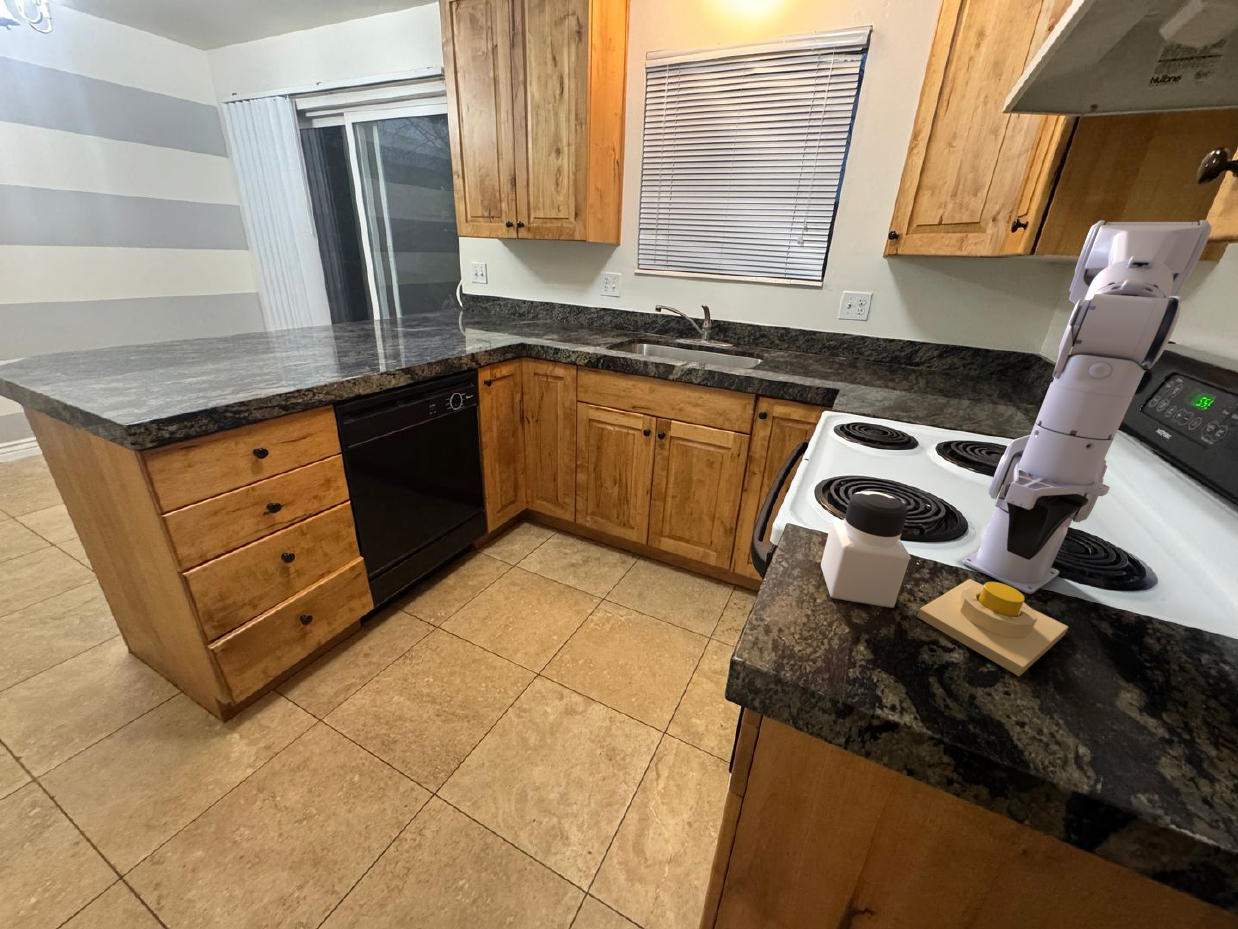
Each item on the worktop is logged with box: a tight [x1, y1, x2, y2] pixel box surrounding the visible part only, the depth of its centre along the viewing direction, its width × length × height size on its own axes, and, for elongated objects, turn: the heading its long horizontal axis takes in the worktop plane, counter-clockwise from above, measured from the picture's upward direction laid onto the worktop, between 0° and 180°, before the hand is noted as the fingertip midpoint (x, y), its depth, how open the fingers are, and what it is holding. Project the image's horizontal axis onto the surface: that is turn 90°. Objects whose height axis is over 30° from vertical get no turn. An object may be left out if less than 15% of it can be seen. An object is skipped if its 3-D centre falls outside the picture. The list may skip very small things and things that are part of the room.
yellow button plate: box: [916, 578, 1069, 677], centre depth 55 cm, size 12×10×3 cm
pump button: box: [978, 581, 1026, 617], centre depth 54 cm, size 4×4×2 cm
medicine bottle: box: [820, 490, 912, 609], centre depth 58 cm, size 7×7×12 cm
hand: (1020, 553), depth 52 cm, fingers closed
